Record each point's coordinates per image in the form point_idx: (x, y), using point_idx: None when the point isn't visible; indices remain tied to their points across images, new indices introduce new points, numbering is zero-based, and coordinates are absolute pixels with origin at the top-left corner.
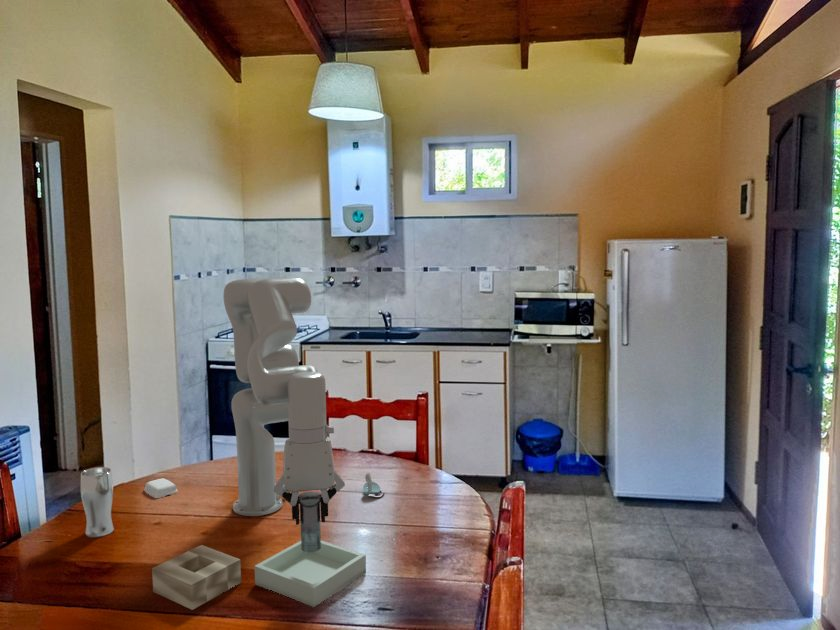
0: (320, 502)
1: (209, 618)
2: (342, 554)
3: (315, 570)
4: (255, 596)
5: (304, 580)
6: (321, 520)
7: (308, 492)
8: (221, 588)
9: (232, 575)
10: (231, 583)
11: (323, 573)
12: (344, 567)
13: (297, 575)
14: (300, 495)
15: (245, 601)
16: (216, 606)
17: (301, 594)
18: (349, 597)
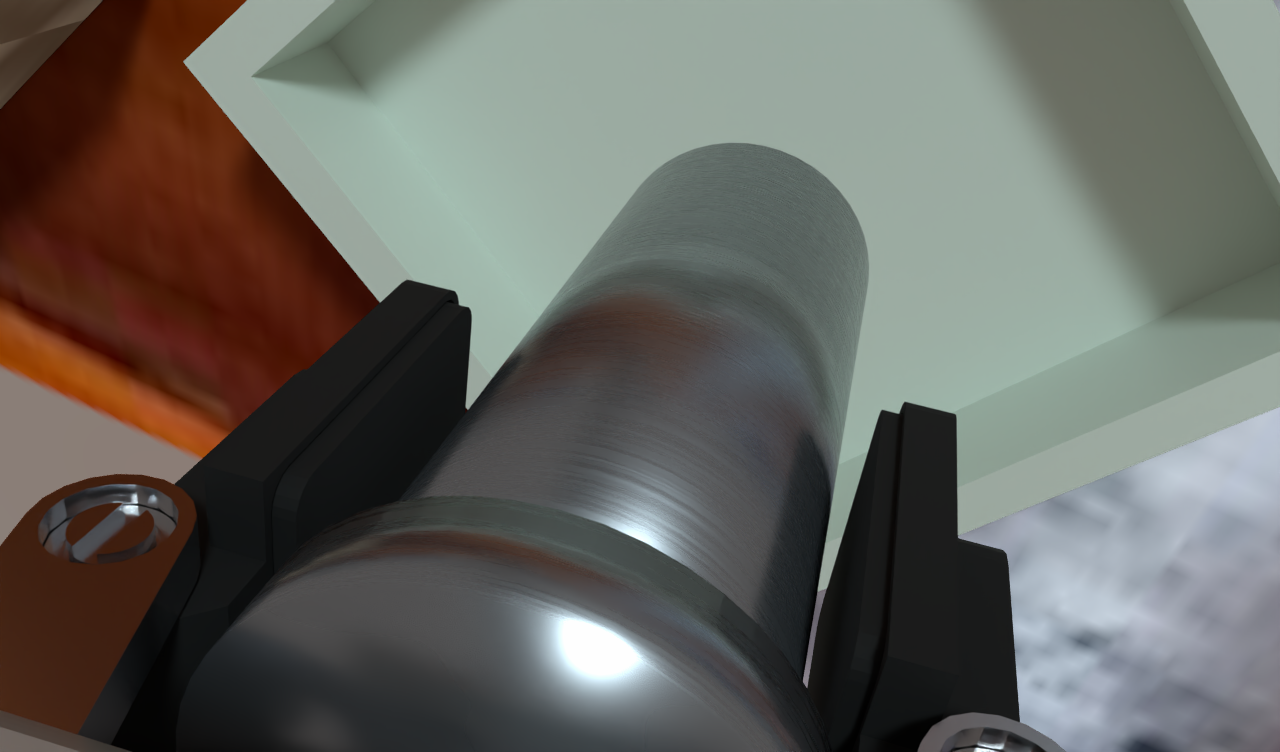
0: (856, 612)
1: (43, 349)
2: (1218, 75)
3: (844, 87)
4: (303, 213)
5: None
6: (829, 586)
7: (481, 639)
8: (15, 71)
9: (37, 6)
10: (78, 2)
11: (903, 180)
12: (1048, 488)
13: (648, 112)
14: (244, 711)
15: (237, 250)
16: (52, 227)
17: None
18: (998, 542)
